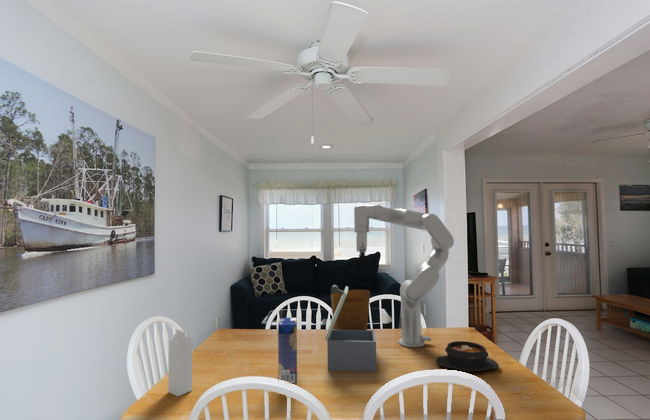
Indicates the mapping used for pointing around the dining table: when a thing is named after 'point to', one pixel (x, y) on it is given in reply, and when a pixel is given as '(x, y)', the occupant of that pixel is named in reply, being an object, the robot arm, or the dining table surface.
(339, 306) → the lid
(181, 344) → the milk
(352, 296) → the pancake mix bag
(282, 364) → the beverage box
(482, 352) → the casserole
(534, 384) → the dining table surface
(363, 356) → the storage box
